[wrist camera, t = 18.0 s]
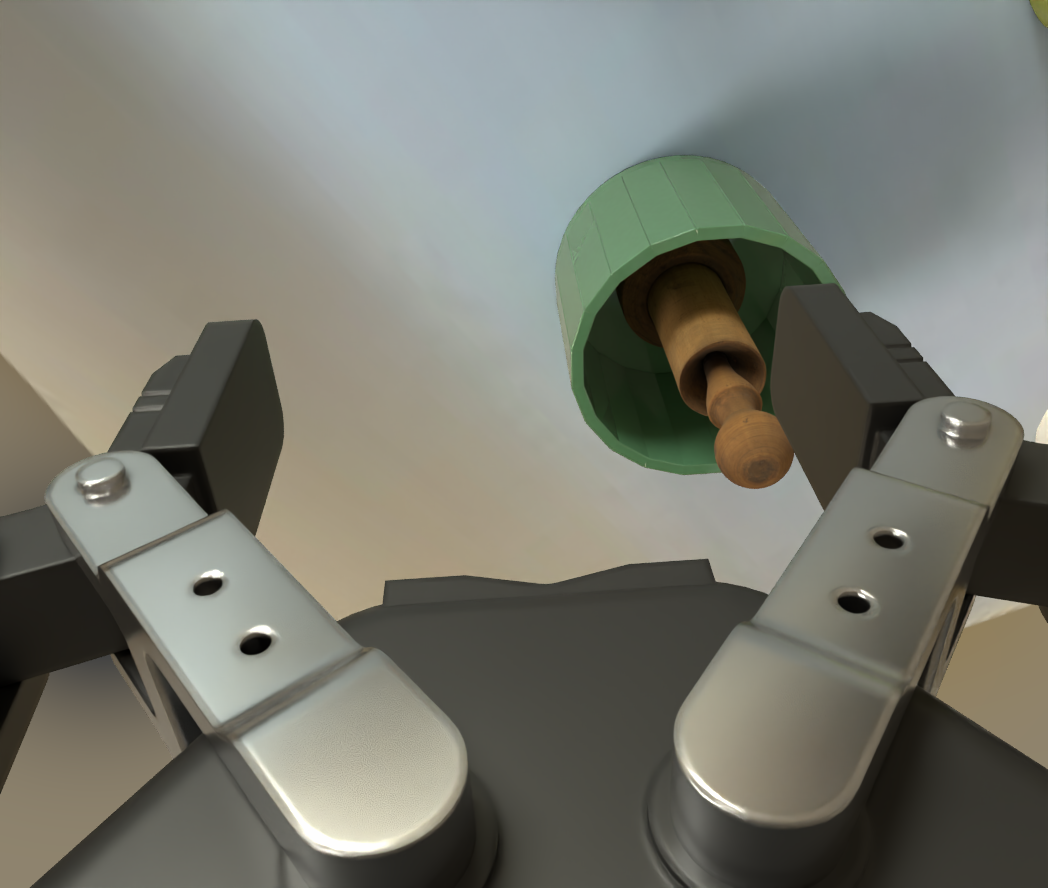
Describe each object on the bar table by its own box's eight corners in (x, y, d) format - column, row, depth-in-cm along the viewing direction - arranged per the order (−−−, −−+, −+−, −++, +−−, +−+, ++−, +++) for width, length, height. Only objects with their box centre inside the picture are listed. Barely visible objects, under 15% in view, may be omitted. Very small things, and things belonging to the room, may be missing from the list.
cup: (558, 381, 54) (573, 482, 46) (551, 162, 47) (568, 235, 39) (776, 367, 54) (831, 465, 46) (802, 146, 47) (872, 216, 39)
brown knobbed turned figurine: (693, 348, 52) (781, 558, 38) (593, 303, 51) (644, 506, 36) (760, 247, 49) (885, 433, 34) (656, 196, 47) (740, 369, 33)
